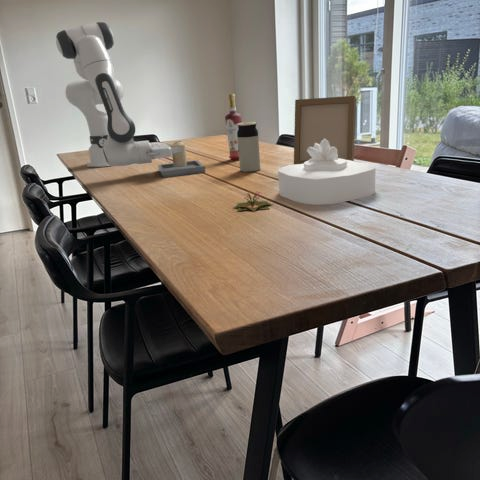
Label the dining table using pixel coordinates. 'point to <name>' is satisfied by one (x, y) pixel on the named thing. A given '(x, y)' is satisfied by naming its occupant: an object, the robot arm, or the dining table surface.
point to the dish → (181, 169)
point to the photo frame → (325, 126)
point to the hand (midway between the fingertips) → (180, 148)
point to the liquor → (233, 128)
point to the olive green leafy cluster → (252, 204)
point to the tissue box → (326, 178)
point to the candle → (179, 155)
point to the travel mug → (248, 147)
